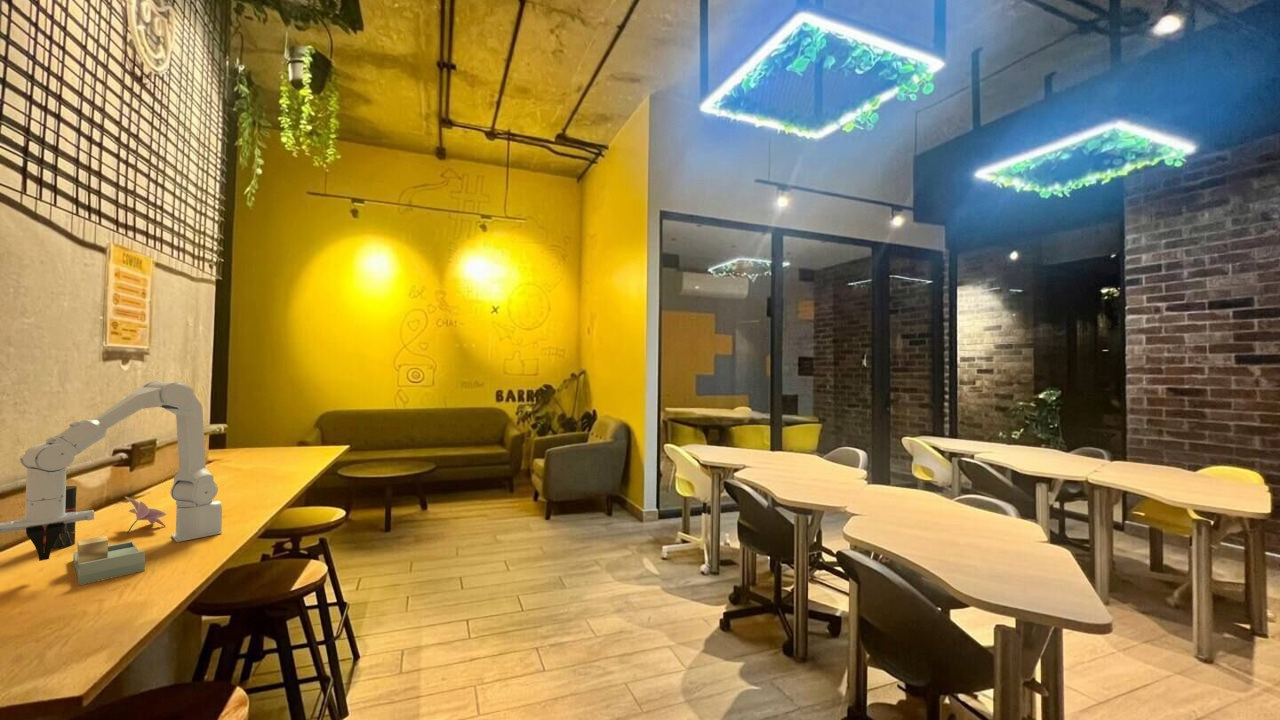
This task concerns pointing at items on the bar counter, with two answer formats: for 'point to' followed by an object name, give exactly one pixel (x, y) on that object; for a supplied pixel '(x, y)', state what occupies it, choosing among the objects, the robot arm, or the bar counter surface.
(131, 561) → the board
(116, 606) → the bar counter surface
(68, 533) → the deodorant
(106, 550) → the beech block
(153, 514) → the lily
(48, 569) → the bar counter surface
